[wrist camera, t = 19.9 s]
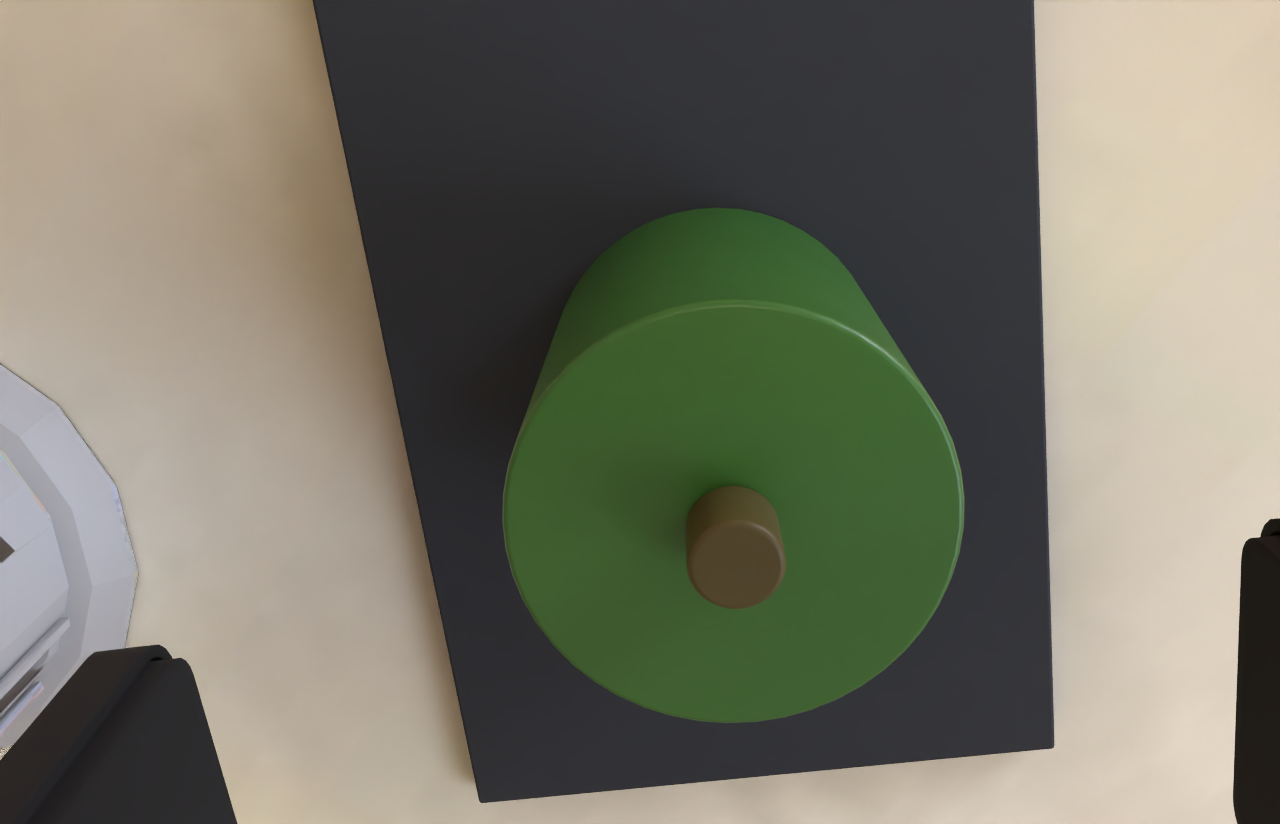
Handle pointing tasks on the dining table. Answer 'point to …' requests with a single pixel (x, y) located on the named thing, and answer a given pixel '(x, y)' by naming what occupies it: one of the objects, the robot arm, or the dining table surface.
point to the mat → (676, 182)
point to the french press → (54, 555)
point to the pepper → (729, 476)
